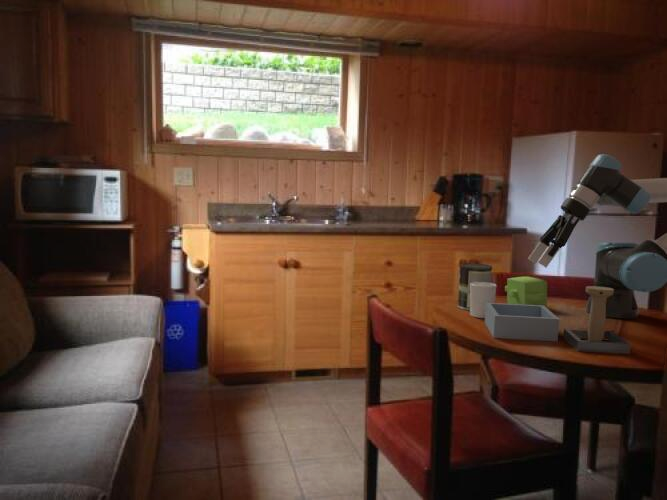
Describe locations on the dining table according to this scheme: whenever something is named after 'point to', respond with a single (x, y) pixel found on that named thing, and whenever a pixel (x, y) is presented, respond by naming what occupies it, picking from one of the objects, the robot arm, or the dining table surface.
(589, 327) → the handle
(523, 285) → the gearbox
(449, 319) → the dining table surface
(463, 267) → the coffee can
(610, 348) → the flat grey tray
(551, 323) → the bin
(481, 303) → the white cup
